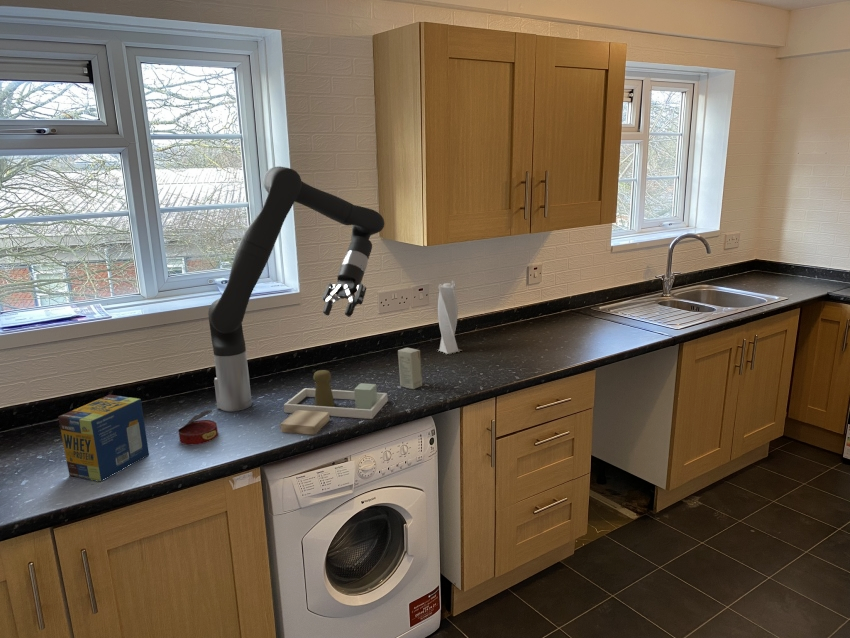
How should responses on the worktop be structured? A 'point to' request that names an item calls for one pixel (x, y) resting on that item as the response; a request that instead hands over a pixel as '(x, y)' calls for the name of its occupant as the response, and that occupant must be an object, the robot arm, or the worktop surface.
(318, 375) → the olive pawn
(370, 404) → the sage block
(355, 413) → the white rectangular frame
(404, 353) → the skincare box
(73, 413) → the protein box
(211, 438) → the canned food
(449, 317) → the skyscraper
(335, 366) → the worktop surface
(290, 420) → the board
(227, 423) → the worktop surface
